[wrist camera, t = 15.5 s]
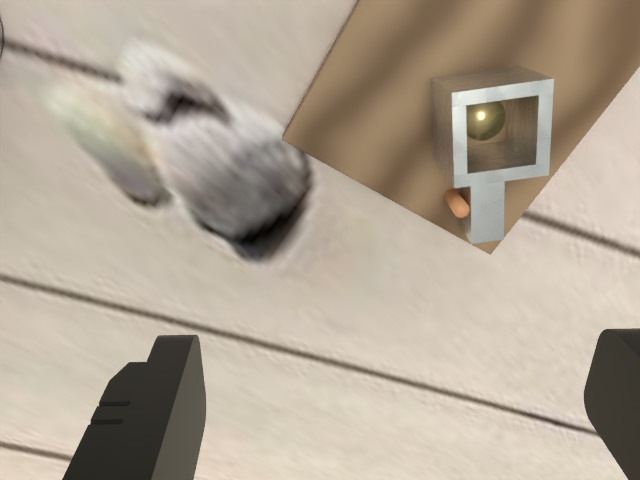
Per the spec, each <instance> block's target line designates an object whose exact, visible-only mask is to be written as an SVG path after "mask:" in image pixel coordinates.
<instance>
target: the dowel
mask: <svg viewBox="0 0 640 480" xmlns="http://www.w3.org/2000/svg"><path fill="white" fill-rule="evenodd" d="M444 199H445V201H446V202H447V204H448V205H449V207H450V208H451V210H452V211H453V213H454V214H455V216H456V217H459V218H463V217H465V216H467V215H468V213H469V211H470V208H469V206H468V204H467V203H466V202H465V200H464V199H463V198H462V196H461V195H460V194H459V192H458V191H457V190H455V189H450V190H448V191H447V192H446V193H445V195H444Z"/></svg>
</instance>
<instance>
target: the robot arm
mask: <svg viewBox="0 0 640 480" xmlns="http://www.w3.org/2000/svg"><path fill="white" fill-rule="evenodd" d="M2 45H3V37H2V26H1V22H0V55H1V50H2ZM584 404H585V409H586V413H587V416H588V418H589V420H590V422H591V423H592V425H593V426H594V428H595V429H596V431H597V433H598V434H599V436H600V437H601V439H602V440H603V442H604V443H605V445H606V446H607V448H608V449H609V451H610V452H611V454H612V455H613V457H614V458H615V460H616V461H617V463H618V464H619V466H620V467H621V469H622V470H623V472H624V474H625V475H626V477H627V478H628V480H640V329H606V330H604V331H602V333H601V334H600V336H599V338H598V342H597V345H596V349H595V353H594V356H593V360H592V364H591V367H590V371H589V375H588V378H587V382H586V385H585V390H584ZM205 419H206V393H205V385H204V376H203V367H202V358H201V349H200V342H199V338H198V336H197V335H162V336H158V337H157V338H156V340H155V343H154V345H153V348H152V350H151V353H150V355H149V358H148V360H147V362H129V363H128V364H127V365H126V366H125V367H124V368H123V369H122V370H121V371H119V372H118V373H117V374H116V375H115V376H114V377H113V378H112V379H111V380H110V381H109V383H108V385H107V387H106V389H105V391H104V393H103V395H102V397H101V400H100V402H99V406H97V408H96V410H95V412H94V414H93V416H92V418H91V424H90V425H88V427H87V429H86V431H85V433H84V435H83V437H82V439H81V441H80V444H79V446H78V448H77V450H76V452H75V454H74V456H73V458H72V460H71V462H70V464H69V467H68V469H67V471H66V473H65V475H64V477H63V479H62V480H193V479H194V474H195V469H196V465H197V460H198V455H199V451H200V446H201V441H202V437H203V432H204V427H205Z"/></svg>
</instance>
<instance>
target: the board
mask: <svg viewBox="0 0 640 480" xmlns="http://www.w3.org/2000/svg"><path fill="white" fill-rule="evenodd" d="M515 65H520V66H523V67H525V68H528V69H531V70H533V71H536V72H539V73H541V74H544V75H546V76H549V77H552V78H554V88H553V107H552V127H551V146H550V165H549V175H548V176H540V177H533V178H526V179H519V180H511V181H505V190H504V237H505V236H506V234H507V233H508V232H509V231H510V229H511V228H512V227H513V226H514V224H515V223H516V222H517V221H518V219H519V218H520V217H521V215H522V214H523V213H524V212H525V210H526V209H527V208H528V207H529V205H530V204H531V203H532V202H533V200H534V199H535V198H536V197H537V195H538V194H539V193H540V191H541V190H542V189H543V188H544V186H545V185H546V184H547V183H548V181H549V180H550V179H551V178H552V176H553V175H554V174H555V173H556V171H557V170H558V169H559V167H560V166H561V165H562V164H563V162H564V161H565V160H566V159H567V157H568V156H569V155H570V154H571V152H572V151H573V150H574V149H575V147H576V146H577V145H578V143H579V142H580V141H581V140H582V138H583V137H584V136H585V135H586V133H587V132H588V131H589V130H590V128H591V127H592V126H593V124H594V123H595V122H596V121H597V119H598V118H599V117H600V116H601V114H602V113H603V112H604V111H605V109H606V108H607V107H608V106H609V104H610V103H611V102H612V100H613V99H614V98H615V97H616V95H617V94H618V93H619V92H620V90H621V89H622V88H623V87H624V85H625V84H626V83H627V82H628V80H629V79H630V78H631V76H632V75H633V74H634V73H635V71H636V70H637V69H638V68H639V66H640V0H358V1H357V3H356V5H355V6H354V8H353V10H352V12H351V14H350V15H349V17H348V19H347V21H346V23H345V24H344V26H343V28H342V30H341V32H340V33H339V35H338V37H337V39H336V41H335V42H334V44H333V46H332V48H331V49H330V51H329V53H328V55H327V57H326V58H325V60H324V62H323V64H322V66H321V67H320V69H319V71H318V73H317V75H316V76H315V78H314V80H313V82H312V84H311V85H310V87H309V89H308V91H307V93H306V94H305V96H304V98H303V100H302V102H301V103H300V105H299V107H298V109H297V110H296V112H295V114H294V116H293V118H292V119H291V121H290V123H289V125H288V127H287V128H286V130H285V132H284V134H283V139H282V140H284V141H285V142H287V143H289V144H291V145H293V146H294V147H296V148H298V149H300V150H302V151H304V152H305V153H307V154H309V155H311V156H313V157H314V158H316V159H318V160H320V161H322V162H323V163H325V164H327V165H329V166H331V167H333V168H334V169H336V170H338V171H340V172H342V173H343V174H345V175H347V176H349V177H351V178H352V179H354V180H356V181H358V182H360V183H362V184H363V185H365V186H367V187H369V188H371V189H372V190H374V191H376V192H378V193H380V194H381V195H383V196H385V197H387V198H389V199H391V200H392V201H394V202H396V203H398V204H400V205H401V206H403V207H405V208H407V209H409V210H411V211H412V212H414V213H416V214H418V215H420V216H421V217H423V218H425V219H427V220H429V221H430V222H432V223H434V224H436V225H438V226H440V227H441V228H443V229H445V230H447V231H449V232H450V233H452V234H454V235H456V236H458V237H459V238H461V239H463V240H465V241H467V242H469V243H470V244H471V242H470V241H469V239H468V238H467V236H466V235H465V233H464V232H463V230H462V228H461V218H459V217H456V216H455V214H454V213H453V211H452V210H451V208H450V207H449V205H448V204H447V202H446V201H445V199H444V195H445V193H446V192H447V191H448V190H450V189H455V190H457V191H458V192H459V194H460V188H454V187H453V186H452V185H451V183H450V182H449V181H448V179H447V178H446V176H445V175H444V174H443V172H442V171H441V170H440V168H439V167H438V166H437V164H436V163H435V162H434V139H433V116H432V93H431V78H432V77H439V76H446V75H453V74H460V73H467V72H474V71H481V70H488V69H495V68H502V67H508V66H515ZM499 102H500V103H501V104H502V105H503V107H504V109H505V112H506V100H500V101H499ZM505 132H506V120H505V124H504V126H503V128H502V129H501V131H500V132H499V133H498V134H497V135H496V136H494V137H493V138H491V139H488V140H484V141H478V140H474V139H472V138H470V137H469V136H468V135H467V146H470V145H477V144H485V143H492V142H499V141H505ZM501 241H502V240H496V241H488V242H481V243H474V244H472V245H474V246H476V247H478V248H479V249H481V250H483V251H485V252H487V253H488V254H490V255H491V253H492V252H493V251H494V250H495V248H496V247H497V246H498V245H499V243H500V242H501Z"/></svg>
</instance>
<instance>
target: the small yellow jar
mask: <svg viewBox="0 0 640 480" xmlns="http://www.w3.org/2000/svg"><path fill="white" fill-rule="evenodd" d="M505 120H506V112H505V109H504V107H503V105H502V104H501V103H500V102H499V101H493V102H486V103H479V104H472V105H466V123H467V135H468V136H469V137H470V138H472V139H474V140H478V141H484V140H488V139H491V138H493V137H494V136H496V135H497V134H498V133H499V132H500V131H501V129H502V128H503V126H504V124H505Z"/></svg>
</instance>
